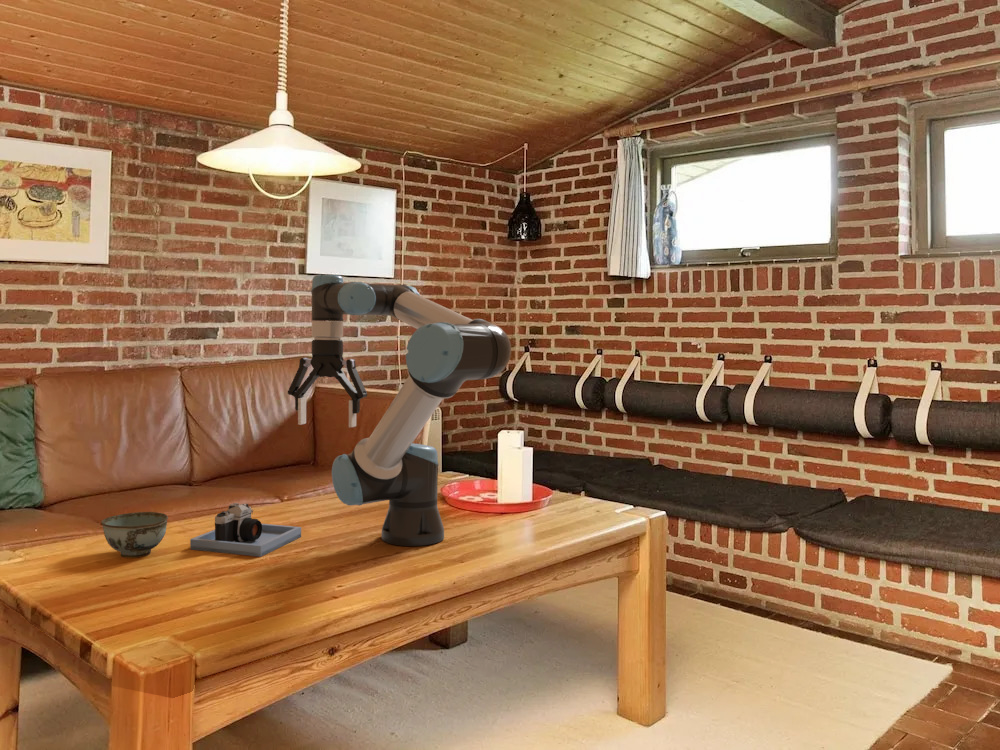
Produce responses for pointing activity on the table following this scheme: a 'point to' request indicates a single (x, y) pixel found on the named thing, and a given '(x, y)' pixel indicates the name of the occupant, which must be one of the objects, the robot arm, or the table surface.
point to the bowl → (135, 532)
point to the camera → (237, 524)
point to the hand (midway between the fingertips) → (327, 425)
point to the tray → (264, 544)
